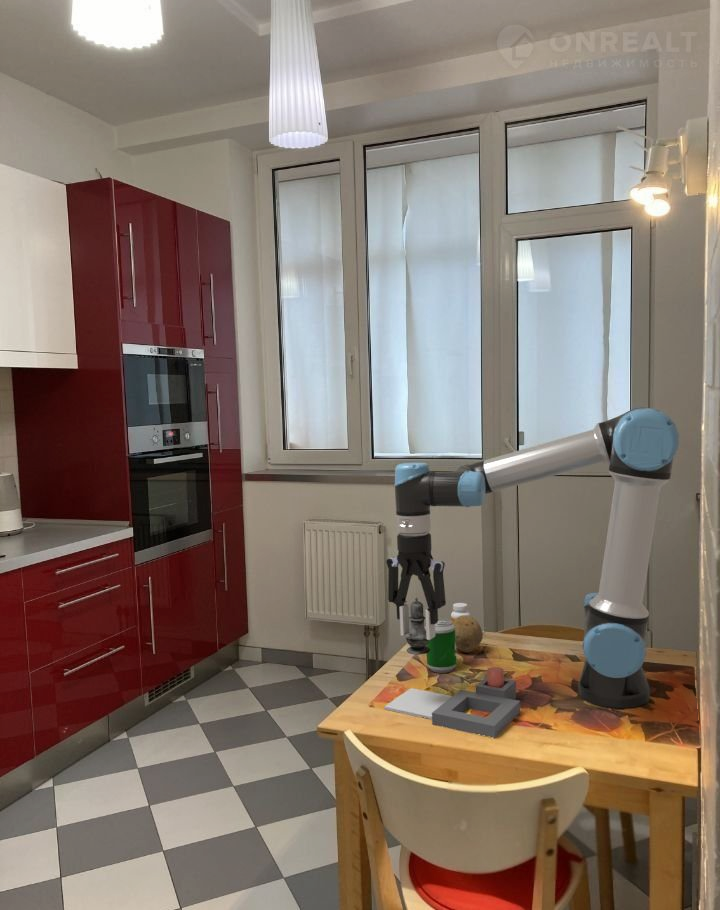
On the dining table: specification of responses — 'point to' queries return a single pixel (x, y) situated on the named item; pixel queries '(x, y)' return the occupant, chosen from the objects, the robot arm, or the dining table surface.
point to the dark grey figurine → (417, 630)
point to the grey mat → (417, 703)
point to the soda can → (442, 647)
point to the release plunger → (495, 677)
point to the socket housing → (484, 700)
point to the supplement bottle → (459, 611)
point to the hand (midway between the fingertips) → (417, 635)
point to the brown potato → (467, 633)
